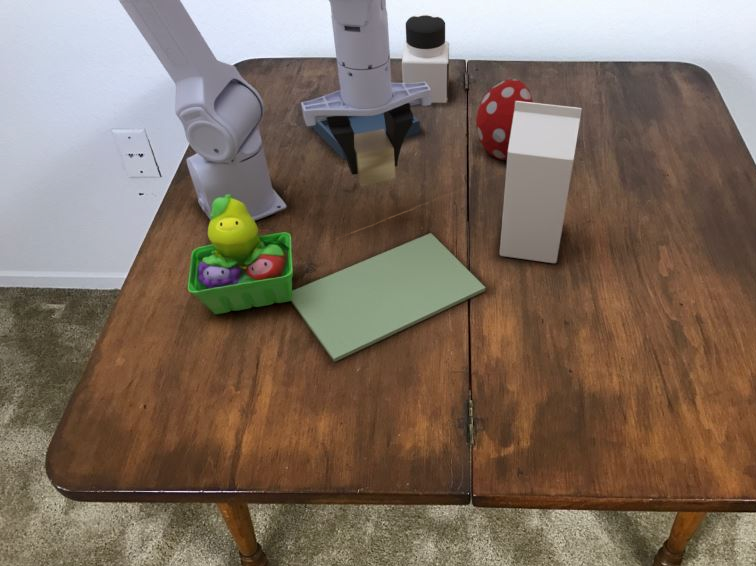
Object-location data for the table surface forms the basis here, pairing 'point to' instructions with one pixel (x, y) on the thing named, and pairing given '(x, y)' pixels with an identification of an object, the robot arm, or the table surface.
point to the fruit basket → (240, 262)
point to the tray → (360, 128)
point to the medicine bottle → (427, 55)
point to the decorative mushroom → (499, 116)
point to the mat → (383, 295)
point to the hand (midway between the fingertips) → (373, 166)
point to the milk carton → (538, 179)
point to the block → (374, 157)
